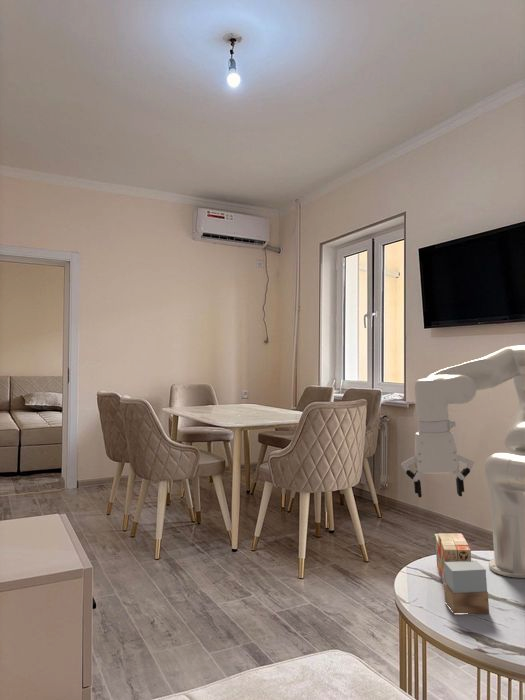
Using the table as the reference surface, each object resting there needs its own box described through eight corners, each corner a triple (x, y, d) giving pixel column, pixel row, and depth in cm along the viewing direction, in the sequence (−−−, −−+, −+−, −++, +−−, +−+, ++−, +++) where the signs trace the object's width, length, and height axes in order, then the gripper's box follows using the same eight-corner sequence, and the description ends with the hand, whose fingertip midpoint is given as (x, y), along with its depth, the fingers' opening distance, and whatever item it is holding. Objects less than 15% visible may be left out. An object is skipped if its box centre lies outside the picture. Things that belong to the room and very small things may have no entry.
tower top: (477, 581, 126) (476, 560, 126) (487, 591, 120) (485, 569, 120) (445, 583, 126) (444, 562, 126) (453, 593, 120) (452, 571, 121)
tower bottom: (478, 602, 126) (477, 581, 126) (489, 614, 120) (487, 592, 120) (445, 604, 126) (443, 583, 126) (454, 615, 120) (452, 593, 120)
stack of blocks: (436, 566, 149) (433, 522, 150) (459, 567, 148) (456, 522, 148) (446, 599, 128) (443, 548, 129) (474, 600, 127) (470, 549, 127)
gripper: (467, 423, 134) (473, 490, 134) (397, 427, 138) (403, 492, 137) (472, 427, 127) (479, 498, 126) (399, 431, 130) (405, 500, 130)
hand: (439, 495), depth 132 cm, fingers open, 9 cm apart
